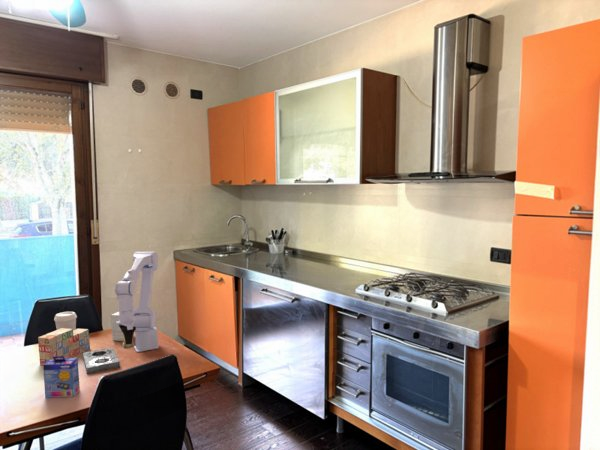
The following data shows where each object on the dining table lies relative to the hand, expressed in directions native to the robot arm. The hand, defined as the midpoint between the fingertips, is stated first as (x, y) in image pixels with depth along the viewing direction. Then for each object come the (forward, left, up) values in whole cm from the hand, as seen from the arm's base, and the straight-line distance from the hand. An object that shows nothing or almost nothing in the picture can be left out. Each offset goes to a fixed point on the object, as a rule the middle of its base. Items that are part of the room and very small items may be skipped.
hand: (127, 342), depth 182 cm
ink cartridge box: (+25, +17, -9) cm, 32 cm away
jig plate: (+10, -7, -9) cm, 15 cm away
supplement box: (-3, -35, -9) cm, 36 cm away
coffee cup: (+21, -39, -9) cm, 45 cm away
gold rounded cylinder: (0, 0, -2) cm, 2 cm away
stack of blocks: (+22, -23, -9) cm, 33 cm away
